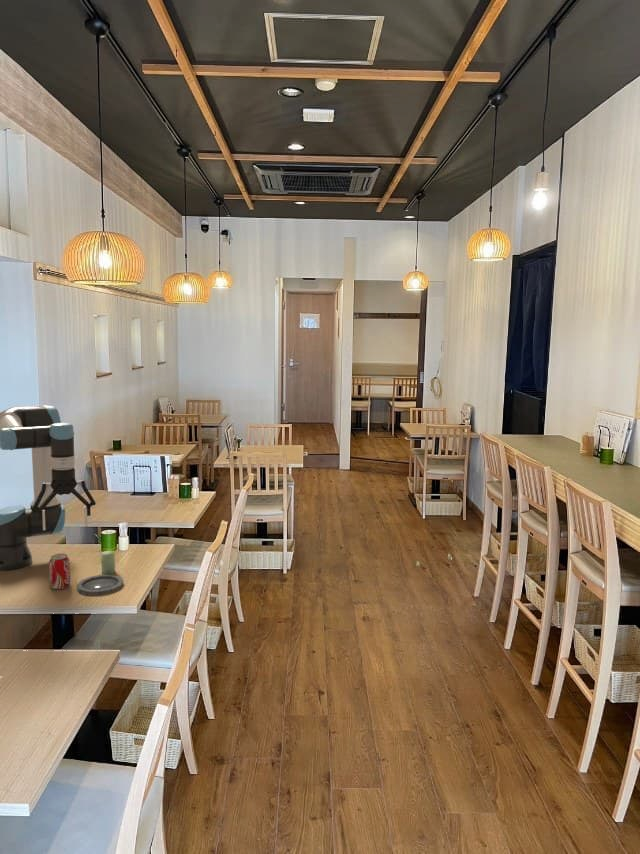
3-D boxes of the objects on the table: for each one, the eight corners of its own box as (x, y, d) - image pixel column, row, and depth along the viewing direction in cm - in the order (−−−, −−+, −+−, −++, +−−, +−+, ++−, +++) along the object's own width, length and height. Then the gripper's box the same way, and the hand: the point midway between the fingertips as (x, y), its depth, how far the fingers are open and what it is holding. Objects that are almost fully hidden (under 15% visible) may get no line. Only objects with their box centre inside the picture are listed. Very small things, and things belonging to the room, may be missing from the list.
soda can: (63, 591, 225) (61, 560, 223) (46, 589, 226) (44, 558, 225) (74, 584, 232) (73, 553, 230) (57, 582, 233) (56, 552, 231)
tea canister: (100, 571, 245) (99, 552, 244) (113, 568, 248) (112, 550, 246) (103, 575, 241) (102, 555, 240) (116, 572, 243) (115, 553, 242)
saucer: (73, 583, 233) (73, 579, 232) (116, 575, 241) (116, 571, 241) (82, 598, 219) (82, 594, 219) (127, 589, 228) (127, 586, 227)
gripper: (23, 472, 202) (26, 534, 205) (102, 467, 212) (104, 526, 215) (23, 468, 208) (26, 527, 211) (100, 463, 219) (101, 520, 222)
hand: (65, 527), depth 213 cm, fingers open, 13 cm apart
